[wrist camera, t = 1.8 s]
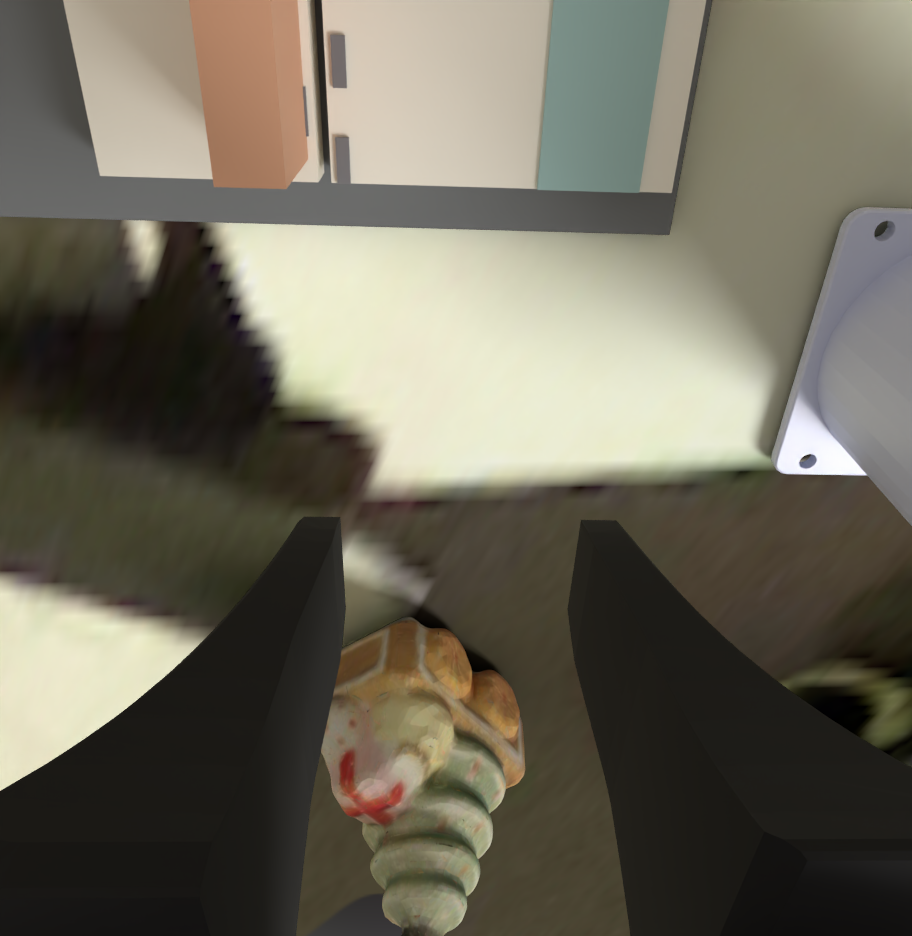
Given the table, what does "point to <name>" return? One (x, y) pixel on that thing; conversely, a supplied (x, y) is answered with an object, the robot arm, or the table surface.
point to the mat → (197, 200)
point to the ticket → (509, 92)
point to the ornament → (422, 766)
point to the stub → (201, 89)
